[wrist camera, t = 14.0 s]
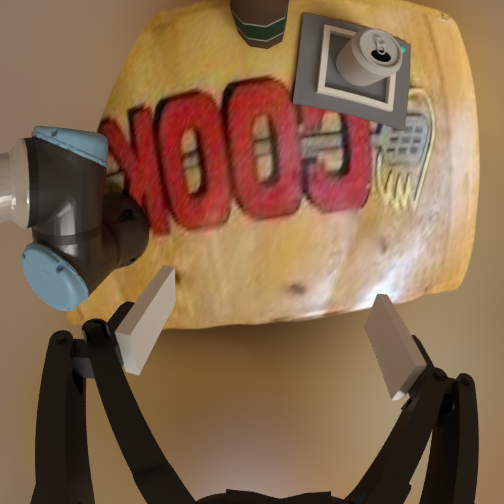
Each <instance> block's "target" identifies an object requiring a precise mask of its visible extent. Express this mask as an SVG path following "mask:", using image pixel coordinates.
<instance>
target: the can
mask: <svg viewBox="0 0 504 504" xmlns="http://www.w3.org/2000/svg"><path fill="white" fill-rule="evenodd" d="M401 64H402V50H401V47H400V45H399V43H398V42H397V41H396V40H395V38H394V37H393V36H391V35H390V34H388V33H387V32H385V31H382V30H380V29H369V28H367V29H363V30H360V31H359V32H357V33H356V34H355V35H354V36H353V37H352V38H351V39H350V41H349V42H348V43H347V44H346V45H345V46H344V47H343V49H342V50H341V51H340V52H339V54H338V56H337V59H336V66H337V70H338V71H339V73H340V75H341V76H342V77H343V78H344V79H345V80H346V81H347V82H349V83H351V84H352V85H356V86H368V85H371V84H373V83H375V82H377V81H379V80H382V79H384V78H386V77H388V76H390V75H393V74H394V73H396V72H397V71H398V70H399V69H400V66H401Z"/></svg>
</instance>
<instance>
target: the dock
mask: <svg viewBox="0 0 504 504" xmlns="http://www.w3.org/2000/svg"><path fill="white" fill-rule="evenodd" d="M363 29H367V28H365V27H362V26H359V25H355V24H352V23H348V22H344V21H340V20H336V19H332V18H327V17H323V16H318V15H313V14H307V13H303V20H302V29H301V38H300V47H299V55H298V63H297V72H296V80H295V88H294V95H293V103H292V104H297V105H303V106H309V107H314V108H319V109H324V110H329V111H333V112H338V113H342V114H346V115H350V116H354V117H358V118H362V119H365V120H369V121H373V122H376V123H379V124H383V125H386V126H389V127H392V128H395V129H398V130H401V131H404V130H405V122H406V114H407V104H408V93H409V79H410V54H411V44H409V43H406V42H404V41H402V40H399V39H396V38H395V40H396V41H397V42H398V43H399V45H400V47H401V50H402V64H401V66H400V69H399V70H398V71H397V72H396V73H394V74H393V75H390V76H388V77H386V78H384V79H382V80H379V81H377V82H375V83H373V84H371V85H368V86H356V85H352V84H351V83H349V82H347V81H346V80H345V79H344V78H343V77H342V76H341V75H340V73H339V71H338V70H337V66H336V59H337V56H338V54H339V52H340V51H341V50H342V49H343V47H344V46H345V45H346V44H347V43H348V42H349V41H350V39H351V38H352V37H353V36H354V35H355V34H356V33H357V32H359V31H360V30H363Z"/></svg>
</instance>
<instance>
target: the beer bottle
mask: <svg viewBox="0 0 504 504" xmlns="http://www.w3.org/2000/svg"><path fill="white" fill-rule="evenodd" d="M288 4H289V0H231V2H230V8H231V12H232V15H233V17H234V20H235V23H236V26H237V29H238V32H239V34H240V35H241V36H242V38H243V39H244V40H245V41H246V42H247V43H248V45H249V46H251V47H258V48H265V49H268V48H270V47H272V46H274V45H276V44H278V43H280V42H282V39H283V35H284V31H285V26H286V20H287V12H288Z"/></svg>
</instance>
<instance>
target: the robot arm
mask: <svg viewBox="0 0 504 504" xmlns="http://www.w3.org/2000/svg"><path fill="white" fill-rule="evenodd" d="M31 135H32V137H31V138H22V139H19V140H18V142H17V143H16V144H15V145H14V146H13V147H12V149H11V150H10V151H9V152H7V153H1V154H0V223H2V222H6V221H10V220H11V221H14V222H15V223H16V224H17V225H19V226H20V227H21V228H22V229H26V228H30V227H32V236H33V243H30V244H29V245H27V247H26V248H25V250H24V252H23V254H22V268H23V271H24V274H25V277H26V279H27V281H28V283H29V284H30V286H31V288H32V289H33V290H34V292H35V293H36V294H37V295H38V296H39V297H40V298H41V299H42V300H43V301H44V302H45V303H47V304H48V305H49V306H51V307H53V308H55V309H57V310H61V311H70V310H73V309H75V308H76V307H77V306H78V305H79V304H81V303H82V302H83V301H86V300H87V298H88V297H89V295H90V294H91V293H92V292H93V291H94V290H95V289H96V288H97V287H98V286H99V285H100V284H101V283H102V282H103V281H104V279H105V278H106V277H107V276H108V275H109V274H110V273H111V272H112V271H113V270H115V269H118V268H122V267H125V266H128V265H130V264H132V263H134V262H135V261H136V260H137V259H138V258H139V257H140V256H141V255H142V254H143V253H144V251H145V250H146V247H147V245H148V241H149V227H148V223H147V219H146V217H145V215H144V213H143V211H142V209H141V208H140V207H139V205H138V204H137V203H136V202H135V201H134V200H133V199H131V198H130V197H128V196H126V195H124V194H121V193H116V192H111V193H106V194H104V190H105V178H106V168H108V164H107V154H108V141H107V138H106V137H105V136H104V135H102V134H100V133H95V132H89V131H82V130H73V129H66V128H56V127H45V126H36V127H35V128H34V130H33V132H32V134H31ZM175 303H176V299H175V267H171V266H165V265H163V267H162V268H161V269H160V270H159V272H158V273H157V274H156V276H155V277H154V278H153V280H152V281H151V282H150V284H149V285H148V286H147V288H146V289H145V290H144V292H143V293H142V294H141V296H140V297H139V298H138V300H137V301H136V303H133V302H129V301H127V302H125V303H124V304H122V305H120V307H119V308H118V309H117V310H116V312H115V313H114V314H113V316H112V317H111V318H110V320H109V321H108V322H107V323H106V321H104V320H102V319H98V318H97V319H91V320H88V321H87V322H85V323H84V324H83V326H82V333H83V336H84V339H73V336H72V334H71V333H70V332H68V331H64V330H61V331H58V332H55V333H54V334H53V335H52V336H51V338H50V340H49V345H48V349H47V353H46V358H45V363H44V368H43V374H42V380H41V386H40V394H39V401H38V410H37V421H36V438H35V473H36V485H35V488H34V492H33V495H32V499H31V503H30V504H95V500H94V493H93V487H92V480H91V474H90V466H89V456H88V445H87V430H86V378H95V380H96V384H97V387H98V390H99V394H100V397H101V400H102V403H103V406H104V409H105V411H106V414H107V417H108V419H109V422H110V425H111V427H112V430H113V432H114V435H115V437H116V440H117V442H118V444H119V447H120V449H121V451H122V453H123V455H124V458H125V460H126V462H127V464H128V466H129V468H130V470H131V472H132V474H133V478H134V481H135V483H136V485H137V487H138V489H139V490H140V492H141V494H142V496H143V497H144V499H145V501H146V502H147V504H403V503H404V501H405V500H406V498H407V496H408V494H409V492H410V490H411V485H410V484H409V482H410V480H411V478H412V476H413V474H414V471H415V469H416V467H417V465H418V463H419V461H420V459H421V456H422V454H423V452H424V450H425V447H426V445H427V442H428V440H429V437H430V435H431V432H432V440H431V448H430V454H429V461H428V467H427V472H426V477H425V482H424V486H423V491H422V495H421V499H420V502H419V504H475V503H474V501H475V493H476V485H477V473H478V454H479V434H478V433H479V432H478V412H477V400H476V391H475V383H474V380H473V379H472V377H471V376H470V375H468V374H466V373H461V374H459V376H458V377H457V378H456V379H453V378H448V377H447V375H446V373H445V372H444V371H443V370H442V369H440V368H436V367H434V365H433V363H432V361H431V360H430V358H429V356H428V354H427V353H426V351H425V349H424V348H423V345H422V343H421V342H420V340H419V339H418V338H417V337H416V336H415V335H411V334H410V332H409V331H408V329H407V327H406V326H405V324H404V322H403V320H402V319H401V317H400V315H399V313H398V312H397V310H396V309H395V307H394V305H393V303H392V302H391V300H390V299H389V297H388V295H385V294H377V296H376V299H375V301H374V304H373V307H372V309H371V312H370V314H369V316H368V319H367V321H366V324H365V326H364V327H365V329H366V332H367V334H368V337H369V339H370V342H371V344H372V347H373V350H374V352H375V355H376V358H377V360H378V363H379V366H380V369H381V371H382V374H383V377H384V379H385V382H386V385H387V388H388V391H389V394H390V397H391V400H399V399H403V398H404V397H405V395H406V394H407V393H409V396H410V398H409V399H408V400H407V402H406V403H405V404H404V405H403V407H402V408H401V409H403V410H402V412H401V414H400V416H399V418H398V420H397V422H396V424H395V426H394V428H393V429H392V431H391V433H390V435H389V437H388V438H387V440H386V442H385V443H384V445H383V447H382V449H381V450H380V452H379V453H378V455H377V457H376V458H375V460H374V461H373V463H372V465H371V466H370V467H369V469H368V470H367V472H366V473H365V475H364V476H363V478H362V479H361V480H360V482H359V483H358V485H357V486H356V487H355V489H354V490H353V491H352V492H351V493H350V494H349V495H348V496H347V497H346V498H345V499H344V500H343V499H340V498H337V497H333V496H331V491H329V492H316V493H304V494H300V495H296V496H292V497H288V498H283V499H279V498H274V497H270V496H266V495H263V494H259V493H255V492H249V491H238V490H230V489H227V490H226V493H220V494H214V495H210V496H207V497H204V498H201V499H199V500H198V501H195V500H194V498H193V497H192V496H191V494H190V493H189V492H188V490H187V489H186V487H185V486H184V484H183V483H182V481H181V480H180V478H179V477H178V475H177V474H176V472H175V471H174V469H173V468H172V466H171V465H170V464H169V462H168V461H167V459H166V458H165V456H164V454H163V453H162V451H161V449H160V448H159V446H158V444H157V442H156V440H155V438H154V437H153V435H152V433H151V431H150V429H149V427H148V425H147V423H146V421H145V419H144V417H143V415H142V413H141V411H140V409H139V407H138V405H137V402H136V400H135V398H134V396H133V394H132V391H131V389H130V387H129V384H128V382H127V379H126V377H125V375H124V372H123V370H122V366H123V364H124V368H125V371H126V372H129V373H132V374H136V375H139V374H140V372H141V370H142V368H143V366H144V364H145V362H146V360H147V358H148V356H149V354H150V352H151V350H152V348H153V346H154V344H155V342H156V340H157V338H158V336H159V334H160V332H161V330H162V328H163V326H164V324H165V323H166V321H167V319H168V317H169V315H170V313H171V311H172V309H173V307H174V305H175ZM432 429H433V431H432Z"/></svg>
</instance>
